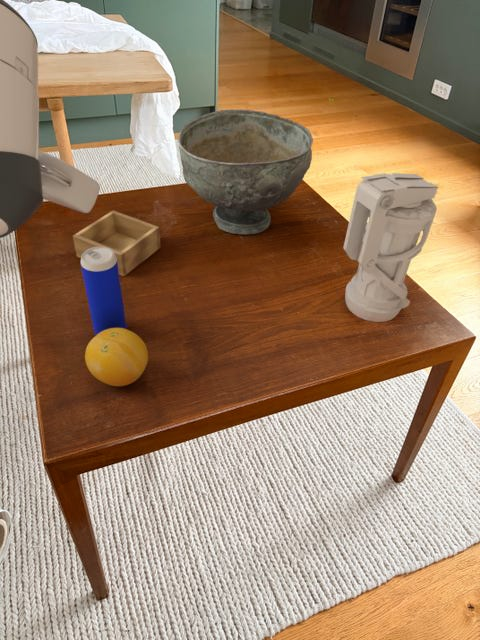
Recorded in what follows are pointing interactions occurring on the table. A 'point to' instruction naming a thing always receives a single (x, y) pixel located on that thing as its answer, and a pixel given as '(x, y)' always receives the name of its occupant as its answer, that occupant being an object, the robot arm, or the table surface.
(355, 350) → the table surface
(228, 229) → the decorative bowl
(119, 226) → the wooden tray
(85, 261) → the beverage can
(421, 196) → the lantern
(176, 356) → the table surface
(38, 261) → the table surface
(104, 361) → the fruit
